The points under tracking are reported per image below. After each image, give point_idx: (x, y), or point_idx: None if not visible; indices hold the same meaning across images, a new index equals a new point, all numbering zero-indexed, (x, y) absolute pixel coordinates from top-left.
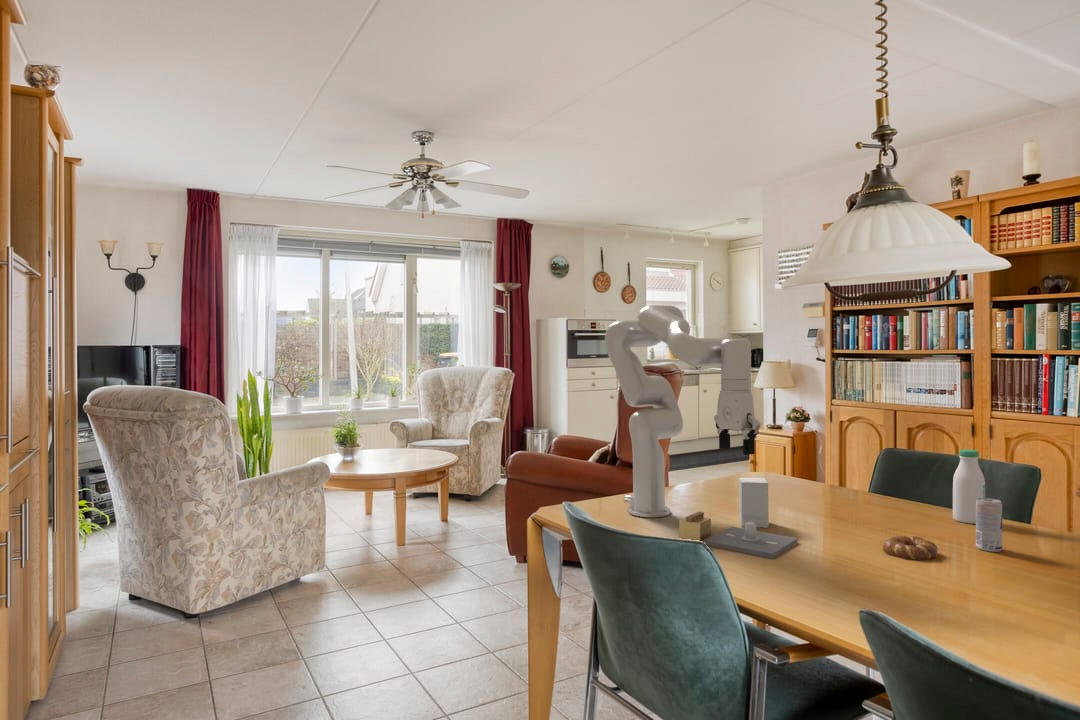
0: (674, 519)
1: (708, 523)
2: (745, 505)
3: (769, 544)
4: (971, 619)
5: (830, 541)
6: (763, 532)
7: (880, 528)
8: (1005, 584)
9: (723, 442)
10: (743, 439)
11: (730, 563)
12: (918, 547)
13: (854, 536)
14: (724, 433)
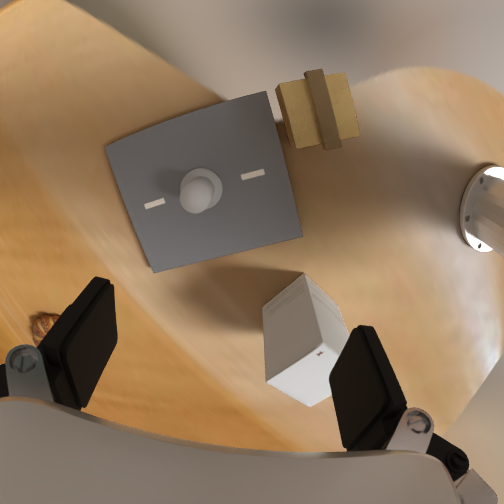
0: (437, 206)
1: (291, 133)
2: (304, 306)
3: (150, 191)
4: None
5: (137, 316)
6: (221, 253)
7: (158, 404)
8: None
9: (358, 370)
10: (54, 346)
11: (138, 52)
12: (34, 333)
13: (142, 359)
14: (373, 433)
